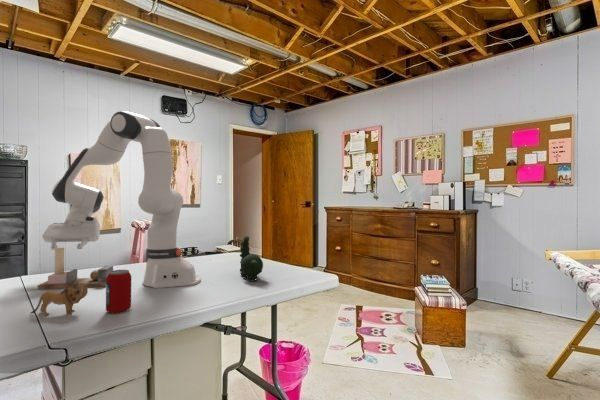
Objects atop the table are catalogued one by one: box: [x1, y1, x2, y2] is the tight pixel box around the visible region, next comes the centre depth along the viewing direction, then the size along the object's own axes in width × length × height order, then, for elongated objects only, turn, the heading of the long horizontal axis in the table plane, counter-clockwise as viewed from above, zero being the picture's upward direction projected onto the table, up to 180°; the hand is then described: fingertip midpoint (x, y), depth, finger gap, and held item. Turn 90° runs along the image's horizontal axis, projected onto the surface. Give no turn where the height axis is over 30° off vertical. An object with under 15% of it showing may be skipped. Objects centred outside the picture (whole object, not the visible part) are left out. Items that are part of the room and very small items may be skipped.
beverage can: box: [105, 269, 132, 315], centre depth 101 cm, size 7×7×12 cm
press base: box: [36, 265, 114, 290], centre depth 132 cm, size 24×10×6 cm, turn 102°
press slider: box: [47, 247, 78, 284], centre depth 131 cm, size 7×8×13 cm
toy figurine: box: [239, 235, 264, 281], centre depth 147 cm, size 9×19×25 cm
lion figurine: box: [30, 282, 89, 317], centre depth 98 cm, size 15×5×9 cm, turn 105°
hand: (66, 248), depth 136 cm, fingers open, 8 cm apart
